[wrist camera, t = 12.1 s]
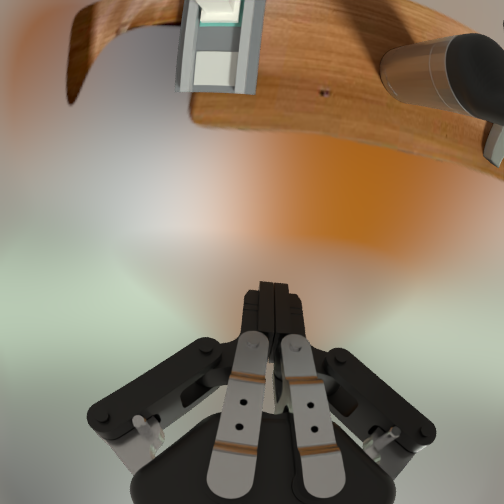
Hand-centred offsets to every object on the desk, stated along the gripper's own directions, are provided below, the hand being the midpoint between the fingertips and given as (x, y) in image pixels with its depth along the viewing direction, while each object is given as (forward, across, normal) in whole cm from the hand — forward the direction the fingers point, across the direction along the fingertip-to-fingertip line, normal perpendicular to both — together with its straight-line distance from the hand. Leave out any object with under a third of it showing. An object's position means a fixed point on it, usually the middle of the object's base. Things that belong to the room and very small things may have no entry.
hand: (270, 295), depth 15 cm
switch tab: (+26, +8, -23) cm, 36 cm away
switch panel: (+29, +8, -18) cm, 35 cm away
